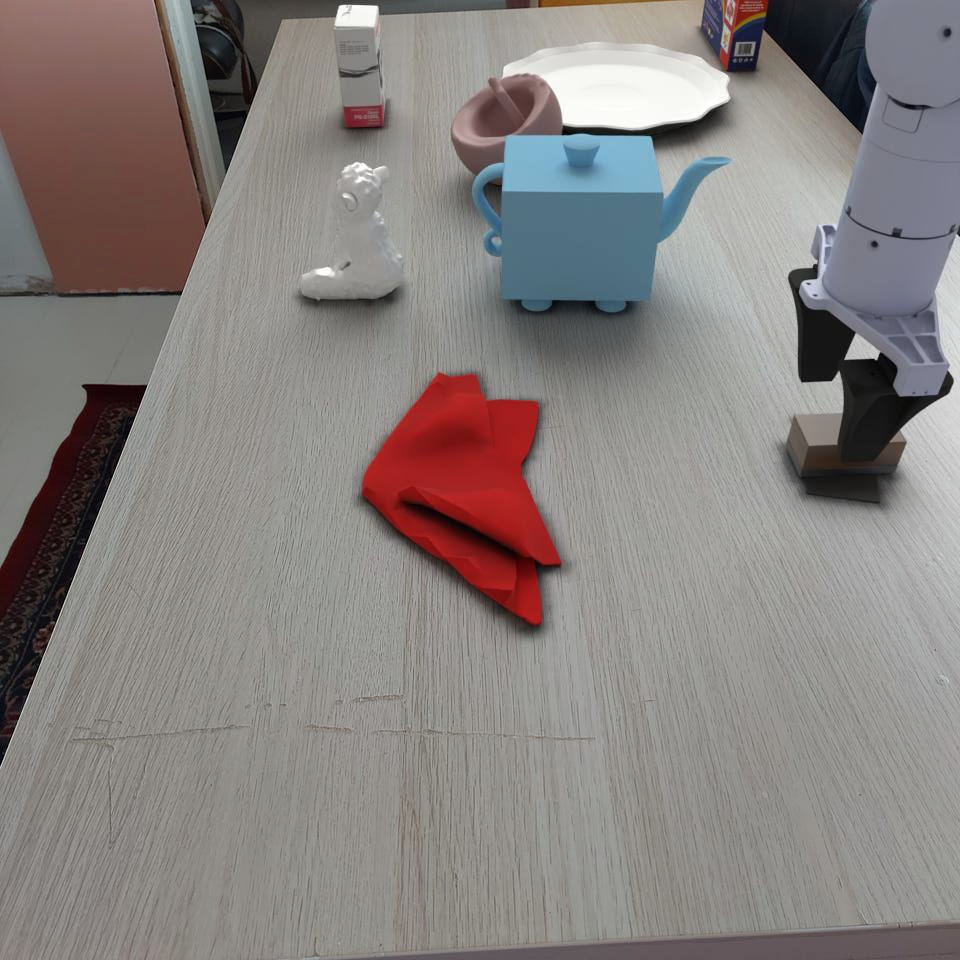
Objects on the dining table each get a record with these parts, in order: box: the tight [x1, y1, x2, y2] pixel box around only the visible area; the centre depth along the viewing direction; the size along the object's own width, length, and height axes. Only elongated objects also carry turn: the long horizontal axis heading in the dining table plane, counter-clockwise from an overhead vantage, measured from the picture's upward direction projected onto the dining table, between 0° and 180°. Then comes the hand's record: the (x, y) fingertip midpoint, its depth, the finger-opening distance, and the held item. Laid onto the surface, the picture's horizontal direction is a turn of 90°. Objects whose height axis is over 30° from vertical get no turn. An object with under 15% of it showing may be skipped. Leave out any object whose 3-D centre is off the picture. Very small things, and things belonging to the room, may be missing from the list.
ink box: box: [333, 4, 387, 129], centre depth 112 cm, size 8×5×12 cm, turn 2°
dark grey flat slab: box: [804, 474, 881, 504], centre depth 67 cm, size 5×8×1 cm, turn 168°
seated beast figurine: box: [299, 161, 405, 301], centre depth 82 cm, size 10×9×12 cm
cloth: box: [361, 371, 563, 627], centre depth 65 cm, size 26×14×2 cm, turn 1°
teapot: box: [471, 133, 733, 313], centre depth 81 cm, size 22×11×14 cm, turn 87°
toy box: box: [700, 0, 770, 72], centre depth 127 cm, size 18×4×12 cm, turn 1°
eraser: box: [785, 412, 908, 478], centre depth 66 cm, size 7×4×3 cm, turn 93°
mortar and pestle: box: [450, 73, 563, 186], centre depth 98 cm, size 12×12×12 cm
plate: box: [500, 41, 731, 136], centre depth 117 cm, size 29×29×2 cm
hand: (834, 416), depth 56 cm, fingers open, 7 cm apart
